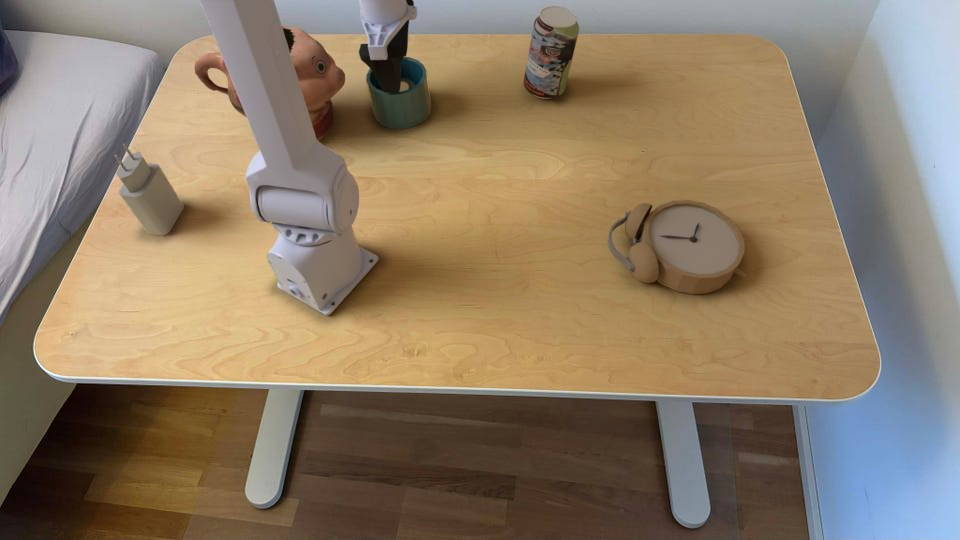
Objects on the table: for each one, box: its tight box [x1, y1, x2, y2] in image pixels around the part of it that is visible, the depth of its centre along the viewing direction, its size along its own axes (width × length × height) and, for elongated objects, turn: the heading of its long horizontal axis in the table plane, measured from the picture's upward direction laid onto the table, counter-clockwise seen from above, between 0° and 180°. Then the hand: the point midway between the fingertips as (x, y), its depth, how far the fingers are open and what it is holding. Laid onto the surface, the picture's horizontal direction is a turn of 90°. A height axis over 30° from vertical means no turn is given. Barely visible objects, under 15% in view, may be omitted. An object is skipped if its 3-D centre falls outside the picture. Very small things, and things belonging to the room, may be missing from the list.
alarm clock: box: [607, 199, 747, 295], centre depth 76 cm, size 11×5×15 cm
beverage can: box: [523, 5, 580, 100], centre depth 91 cm, size 6×7×12 cm
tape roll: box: [399, 78, 415, 92], centre depth 93 cm, size 4×4×3 cm
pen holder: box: [365, 56, 432, 130], centre depth 92 cm, size 8×8×6 cm
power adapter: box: [114, 143, 185, 236], centre depth 80 cm, size 3×5×12 cm, turn 169°
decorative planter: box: [194, 24, 346, 141], centre depth 88 cm, size 20×12×14 cm, turn 90°
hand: (395, 72), depth 90 cm, fingers open, 7 cm apart
